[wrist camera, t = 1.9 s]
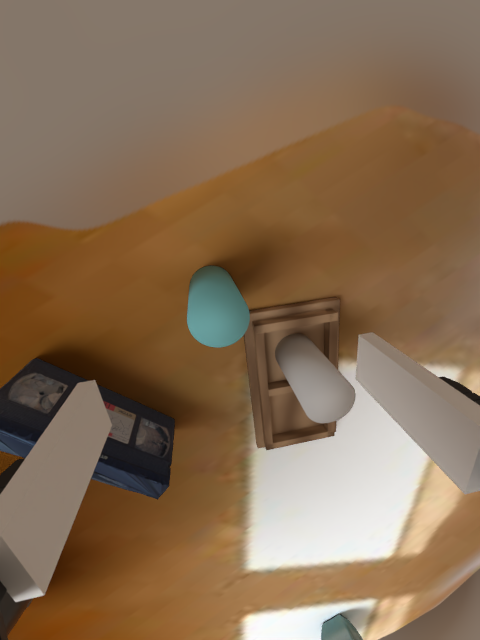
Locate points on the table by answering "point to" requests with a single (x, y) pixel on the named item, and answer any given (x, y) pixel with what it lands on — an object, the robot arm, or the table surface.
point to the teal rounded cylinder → (216, 308)
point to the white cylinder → (314, 379)
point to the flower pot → (339, 630)
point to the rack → (270, 382)
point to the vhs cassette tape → (123, 439)
